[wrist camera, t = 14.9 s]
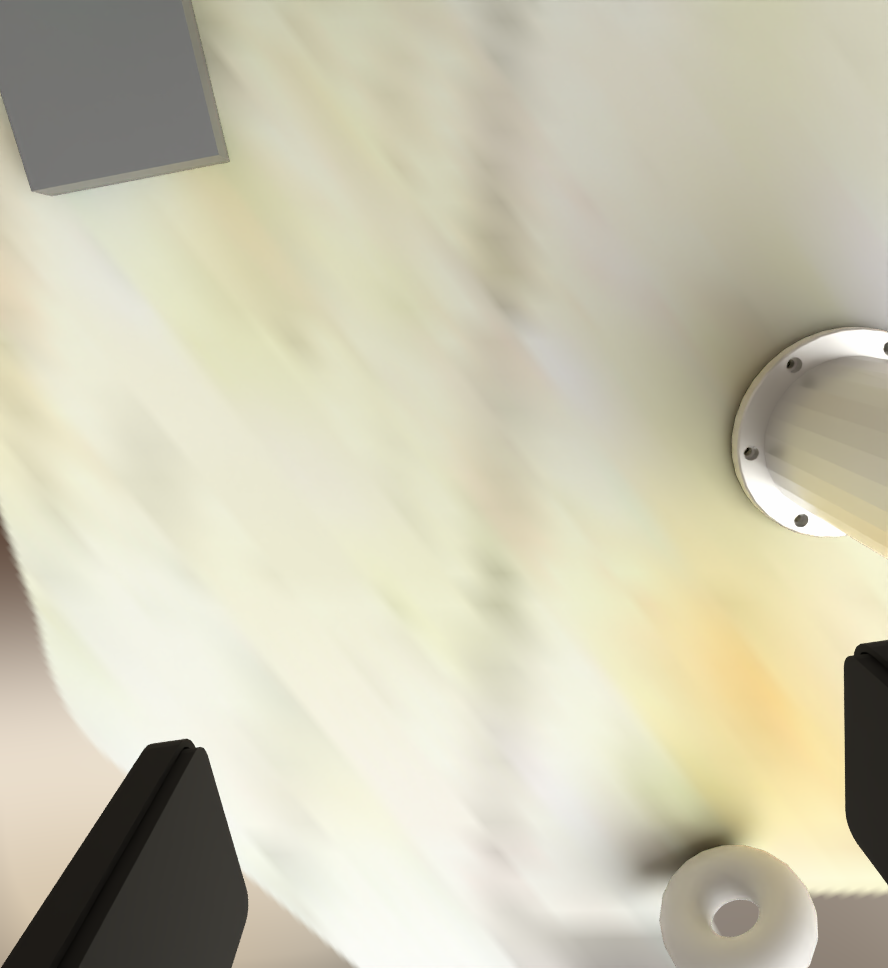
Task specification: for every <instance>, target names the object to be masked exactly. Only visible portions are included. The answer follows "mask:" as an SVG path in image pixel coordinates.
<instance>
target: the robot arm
mask: <svg viewBox="0 0 888 968" xmlns="http://www.w3.org/2000/svg"><path fill="white" fill-rule="evenodd" d="M884 345H885V348H884ZM883 349H884V350H883ZM789 360H790V362H791V364H790V366H789V367H787V362H788V361H789ZM747 448H749V450H748V452H747V453H746V454H744V451H745V450H746V449H747ZM732 458H733V463H734V467H735V472H736V476H737V478H738V480H739V482H740V484H741V487H742V489H743V491H744V492H745V494H746V495H747V496H748V498H749V499H750V500H751V502H752V503H753V504H754V506H755V507H757V508H758V509H759V510H760V511H761V512H762V513H764V514H765V515H766V516H767V517H768V518H770V519H771V520H773V521H775V522H776V523H778V524H779V525H781V526H782V527H785V528H787V529H789V530H791V531H794V532H796V533H800V534H805V535H810V536H815V537H840V536H846V535H848V536H850V537H851V538H853V539H855V540H856V541H858V542H860V543H861V544H863V545H865V546H866V547H868V548H870V549H871V550H873V551H875V552H876V553H878V554H880V555H882V556H883V557H885V558H887V559H888V331H885V330H880V329H872V328H865V327H842V328H836V329H831V330H825V331H821V332H819V333H816V334H813V335H811V336H808V337H805V338H803V339H801V340H799V341H798V342H796V343H794V344H793V345H791V346H789V347H787V348H786V349H784V350H783V351H782V352H780V353H779V354H778V355H777V356H776V357H775V358H773V359H772V360H771V361H770V362H769V363H767V365H766V366H765V367H764V368H763V369H762V370H761V372H760V373H759V374H758V375H757V376H756V378H755V379H754V380H753V382H752V383H751V385H750V387H749V388H748V390H747V392H746V393H745V395H744V397H743V399H742V401H741V404H740V407H739V409H738V412H737V415H736V417H735V422H734V428H733V434H732ZM797 515H798V516H797ZM796 516H797V518H796V519H795V517H796ZM844 720H845V811H846V819H847V823H848V826H849V829H850V831H851V833H852V835H853V838H854V839H855V841H856V842H857V844H858V845H859V847H860V848H861V849H862V851H863V852H864V853H865V855H866V856H867V857H868V859H869V860H870V861H871V863H872V864H873V865H874V867H875V868H876V869H877V871H878V872H879V873H880V875H881V876H882V877H883V879H884V880H885V882H886V883H887V884H888V640H885V641H878V642H871V643H864V644H860V645H858V646H857V647H856V649H855V652H854V656H848V657H847V658H846V660H845V662H844ZM247 913H248V894H247V890H246V886H245V883H244V879H243V875H242V872H241V868H240V865H239V862H238V858H237V855H236V851H235V848H234V844H233V841H232V838H231V834H230V831H229V827H228V824H227V820H226V817H225V813H224V810H223V807H222V803H221V800H220V796H219V793H218V789H217V786H216V783H215V779H214V776H213V772H212V769H211V765H210V762H209V758H208V755H207V753H206V751H205V750H204V748H202V747H198V748H195V746H194V744H193V743H192V741H191V740H189V739H182V740H175V741H168V742H161V743H154V744H150V745H148V746H147V747H146V748H145V749H144V750H143V752H142V753H141V755H140V756H139V758H138V759H137V761H136V762H135V764H134V765H133V767H132V768H131V770H130V771H129V773H128V774H127V776H126V778H125V779H124V781H123V782H122V784H121V785H120V787H119V788H118V790H117V791H116V793H115V794H114V796H113V797H112V799H111V801H110V802H109V804H108V805H107V807H106V808H105V810H104V811H103V813H102V814H101V816H100V817H99V819H98V820H97V822H96V823H95V825H94V827H93V828H92V829H91V831H90V833H89V834H88V836H87V837H86V839H85V840H84V842H83V843H82V845H81V846H80V848H79V849H78V851H77V852H76V854H75V855H74V857H73V858H72V860H71V862H70V863H69V865H68V866H67V868H66V869H65V871H64V872H63V874H62V875H61V877H60V879H59V880H58V882H57V883H56V884H55V886H54V888H53V889H52V891H51V892H50V894H49V895H48V897H47V898H46V900H45V901H44V903H43V904H42V906H41V907H40V909H39V910H38V912H37V914H36V915H35V917H34V918H33V920H32V921H31V923H30V924H29V926H28V927H27V929H26V930H25V932H24V933H23V935H22V936H21V938H20V939H19V941H18V943H17V944H16V946H15V947H14V949H13V950H12V952H11V953H10V955H9V956H8V958H7V959H6V961H5V962H4V964H3V965H2V967H1V968H231V967H232V964H233V960H234V958H235V954H236V951H237V948H238V945H239V942H240V939H241V935H242V932H243V929H244V926H245V923H246V919H247Z"/></svg>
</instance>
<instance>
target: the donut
mask: <svg viewBox="0 0 888 968" xmlns="http://www.w3.org/2000/svg"><path fill="white" fill-rule="evenodd" d="M734 900H748V901H752V902H753V903H755V904H756V905H757V906H758V907H759V918H758V920H757V922H756V924H755V925H754V926H753V927H752V928H751V929H750V930H749V931H747V932H746V933H744V934H742V935H739V936H735V937H723V936H720V935H718V934H717V933H715V932H714V931H713V929H712V926H711V925H712V919H713V917H714V914H715V913H716V912H717V910H718V909H719V908H720V907H721V906H722V905H724V904H726V903H727V902H730V901H734ZM659 921H660V926H661V932H662V937H663V942H664V945H665V948H666V950H667V951H668V953H669V955H670V957H671V959H672V960H673V962H674V964H675V966H676V968H808V966H809V965H810V963H811V959H812V956H813V953H814V950H815V946H816V943H817V940H818V928H817V914H816V909H815V907H814V904H813V902H812V899H811V897H810V895H809V892H808V890H807V887H806V886H805V885H804V883H803V882H802V881H801V880H800V879H799V877H798V876H797V875H796V874H795V873H794V872H793V870H792V869H791V868H790V867H789V866H788V865H787V864H786V863H784V862H783V861H781V860H779V859H778V858H776V857H774V856H773V855H771V854H770V853H768V852H766V851H764V850H760V849H756V848H753V847H749V846H745V845H722V846H718V847H715V848H711V849H708V850H705V851H702V852H700V853H699V854H697V855H695V856H694V857H692V858H691V859H689V860H687V861H686V862H685V863H684V864H683V865H682V866H681V867H680V868H679V869H678V870H677V871H676V872H675V874H674V875H673V876H672V877H671V879H670V881H669V883H668V885H667V887H666V889H665V892H664V894H663V897H662V905H661V912H660V920H659Z"/></svg>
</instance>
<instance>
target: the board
mask: <svg viewBox="0 0 888 968" xmlns="http://www.w3.org/2000/svg"><path fill="white" fill-rule="evenodd" d="M0 92H1V95H2V98H3V102H4V105H5V108H6V111H7V114H8V117H9V121H10V124H11V127H12V130H13V133H14V137H15V140H16V143H17V146H18V149H19V153H20V156H21V159H22V162H23V165H24V169H25V172H26V175H27V178H28V181H29V185H30V188H31V191H33V192H37V193H41V194H45V195H49V196H55V195H60V194H65V193H71V192H76V191H81V190H86V189H91V188H96V187H102V186H107V185H112V184H117V183H122V182H127V181H132V180H138V179H143V178H148V177H153V176H158V175H163V174H169V173H174V172H179V171H184V170H189V169H194V168H200V167H205V166H210V165H215V164H220V163H225V162H230V160H229V156H228V152H227V148H226V144H225V140H224V135H223V131H222V127H221V123H220V119H219V115H218V110H217V106H216V102H215V98H214V94H213V90H212V85H211V81H210V77H209V73H208V69H207V64H206V60H205V56H204V52H203V48H202V44H201V39H200V35H199V31H198V27H197V23H196V19H195V14H194V10H193V6H192V2H191V0H0Z"/></svg>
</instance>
